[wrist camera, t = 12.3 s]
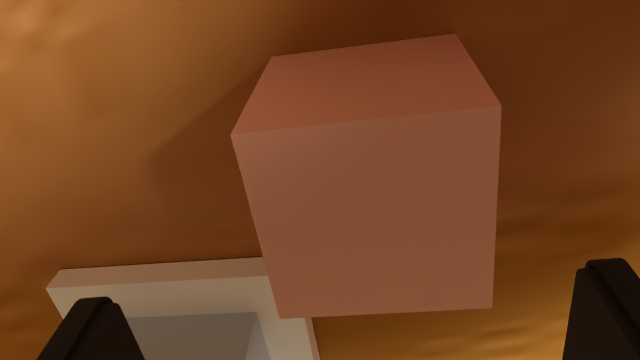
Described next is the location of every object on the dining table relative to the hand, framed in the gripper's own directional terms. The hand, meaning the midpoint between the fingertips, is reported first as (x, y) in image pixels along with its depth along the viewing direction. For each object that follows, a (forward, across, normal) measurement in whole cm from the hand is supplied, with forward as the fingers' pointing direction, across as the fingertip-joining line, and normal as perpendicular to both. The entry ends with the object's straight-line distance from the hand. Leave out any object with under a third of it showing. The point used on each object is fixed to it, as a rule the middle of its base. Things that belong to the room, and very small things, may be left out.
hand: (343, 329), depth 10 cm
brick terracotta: (+9, -1, 0) cm, 9 cm away
